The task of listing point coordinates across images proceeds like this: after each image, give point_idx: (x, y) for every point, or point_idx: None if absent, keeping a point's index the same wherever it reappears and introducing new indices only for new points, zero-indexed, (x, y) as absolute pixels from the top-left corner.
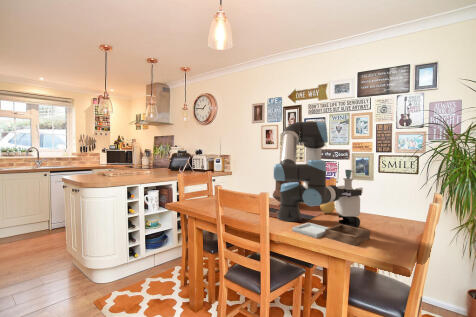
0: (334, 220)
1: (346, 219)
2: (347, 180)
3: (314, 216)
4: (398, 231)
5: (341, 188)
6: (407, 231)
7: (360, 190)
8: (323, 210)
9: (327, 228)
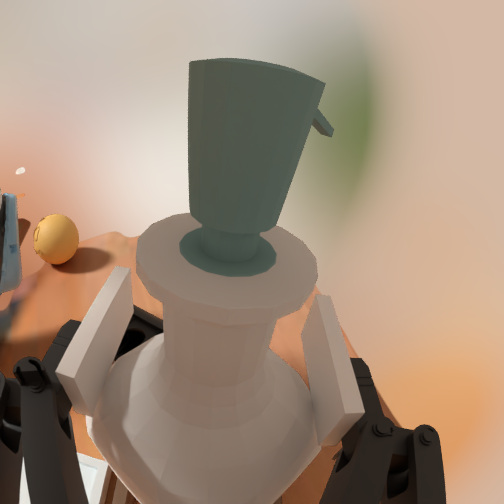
0: (85, 315)
1: (132, 330)
2: (246, 324)
3: (20, 303)
4: (291, 319)
5: (113, 329)
6: (305, 306)
7: (440, 451)
8: (45, 260)
9: (87, 464)
